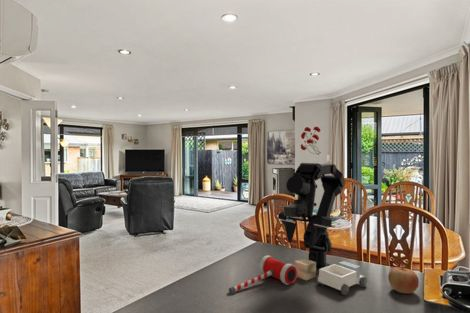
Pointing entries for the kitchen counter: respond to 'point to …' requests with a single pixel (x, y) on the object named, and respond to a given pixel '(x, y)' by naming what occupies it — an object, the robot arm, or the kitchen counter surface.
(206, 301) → the kitchen counter surface
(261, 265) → the toy hammer
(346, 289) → the toy truck
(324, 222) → the robot arm
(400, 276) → the apple
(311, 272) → the cream wooden cube
